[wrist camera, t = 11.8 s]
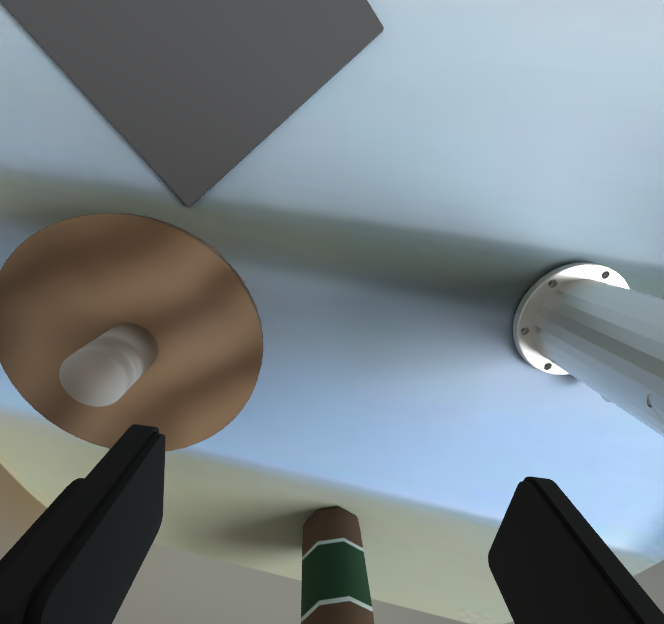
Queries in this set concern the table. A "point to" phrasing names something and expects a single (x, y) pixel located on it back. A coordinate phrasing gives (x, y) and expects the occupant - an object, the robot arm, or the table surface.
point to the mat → (198, 70)
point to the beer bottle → (334, 570)
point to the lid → (128, 330)
